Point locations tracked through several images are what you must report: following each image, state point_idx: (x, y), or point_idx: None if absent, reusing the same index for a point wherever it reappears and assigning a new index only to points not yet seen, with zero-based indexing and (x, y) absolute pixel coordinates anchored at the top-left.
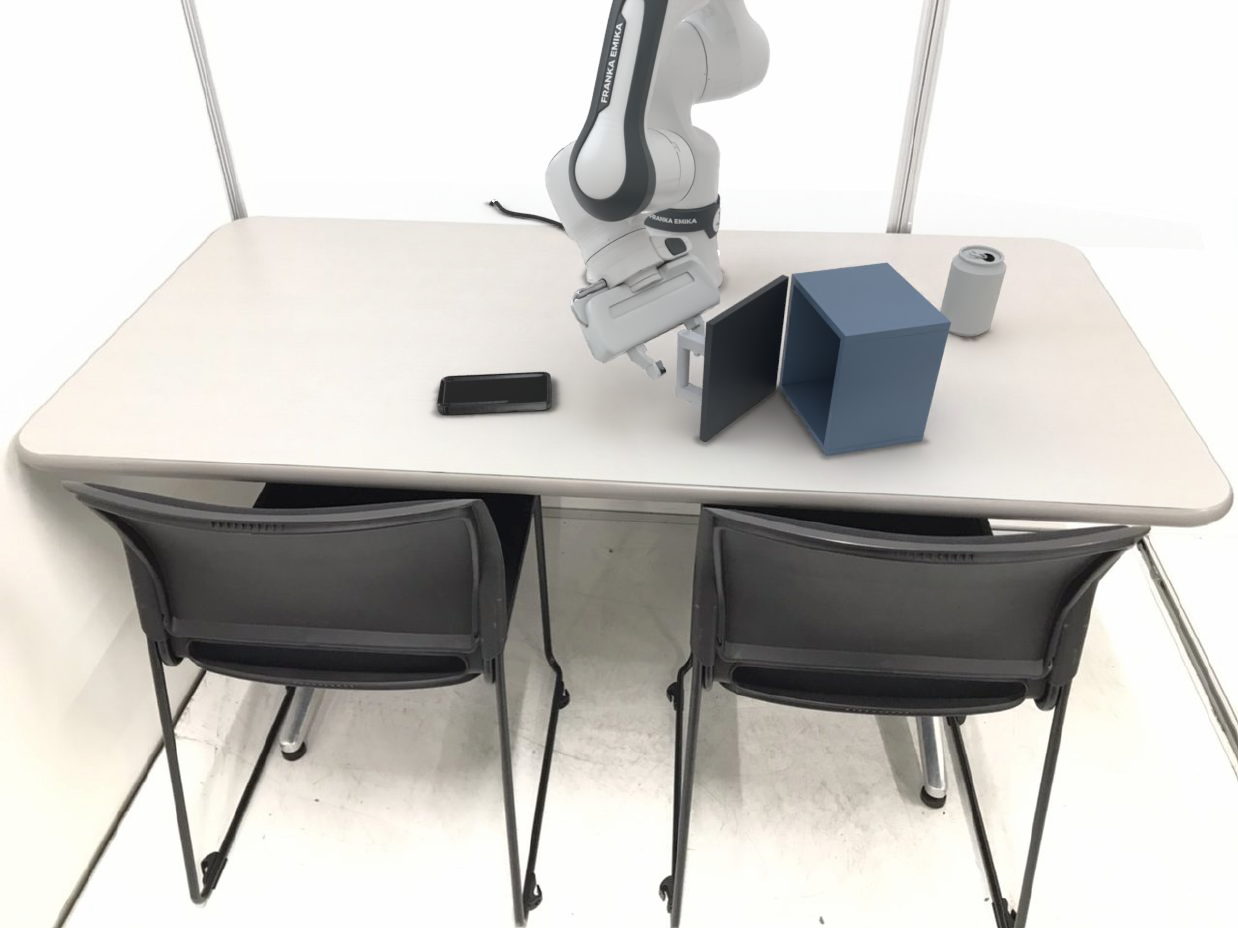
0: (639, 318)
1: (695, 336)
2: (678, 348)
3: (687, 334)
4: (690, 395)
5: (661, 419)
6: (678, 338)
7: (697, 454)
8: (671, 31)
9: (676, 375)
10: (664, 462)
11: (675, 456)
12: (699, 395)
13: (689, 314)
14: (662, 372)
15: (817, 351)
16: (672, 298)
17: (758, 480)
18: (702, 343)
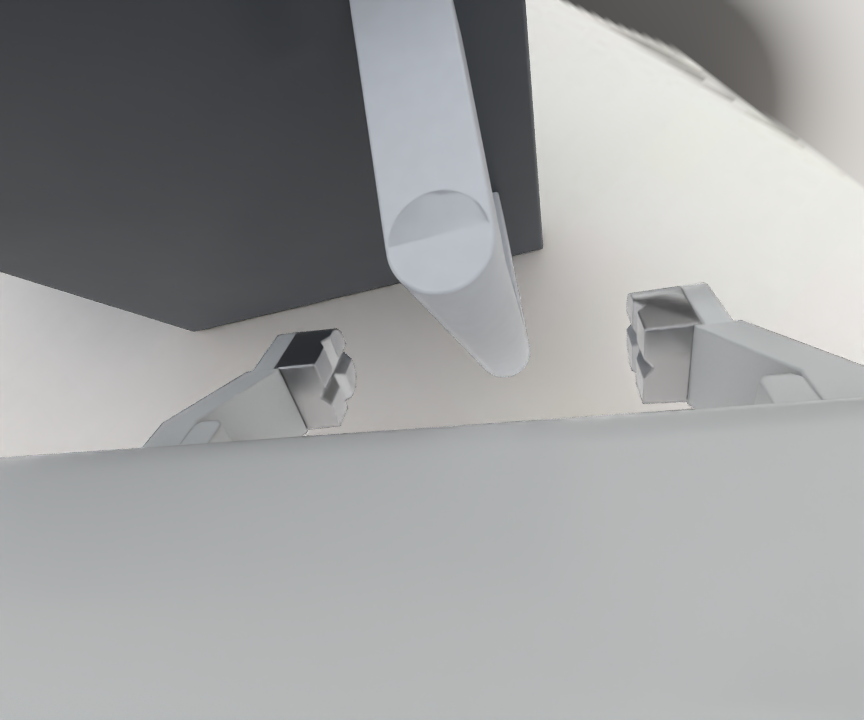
0: (857, 599)
1: (415, 138)
2: (508, 286)
3: (441, 198)
4: (515, 277)
5: (564, 415)
6: (499, 262)
7: (598, 198)
8: None
9: (520, 345)
10: (719, 221)
11: (665, 227)
12: (503, 228)
13: (201, 450)
14: (663, 288)
15: None
16: (165, 643)
17: (539, 21)
18: (448, 28)
